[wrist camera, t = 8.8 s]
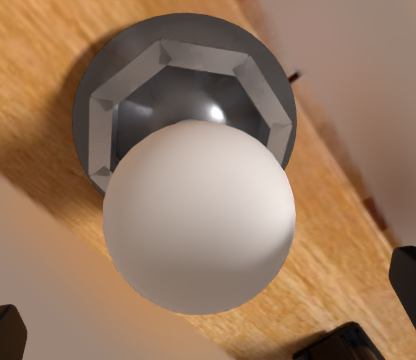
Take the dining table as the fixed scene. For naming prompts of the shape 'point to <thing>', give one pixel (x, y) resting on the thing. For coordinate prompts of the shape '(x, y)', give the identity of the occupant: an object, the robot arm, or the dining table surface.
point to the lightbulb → (199, 217)
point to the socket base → (179, 89)
